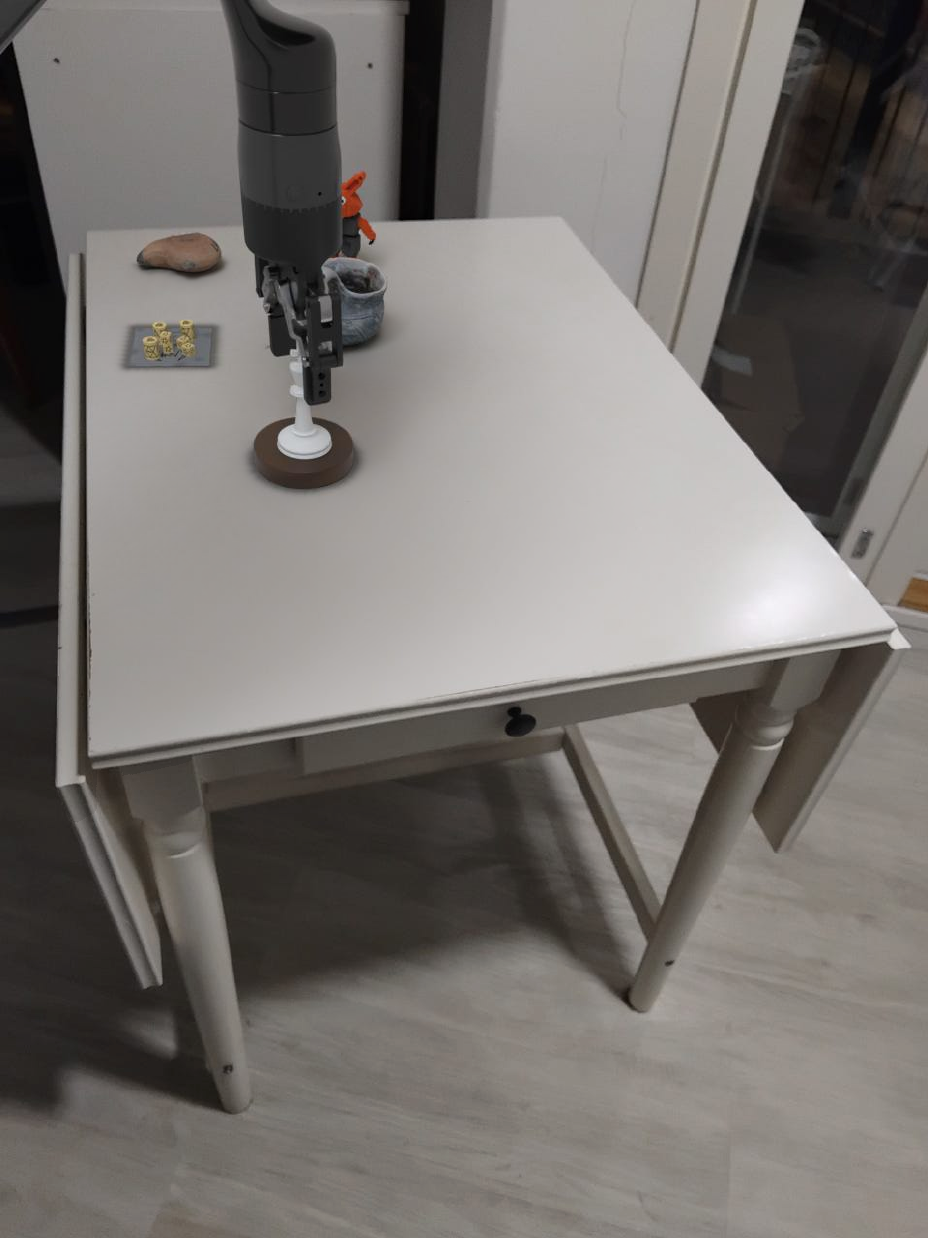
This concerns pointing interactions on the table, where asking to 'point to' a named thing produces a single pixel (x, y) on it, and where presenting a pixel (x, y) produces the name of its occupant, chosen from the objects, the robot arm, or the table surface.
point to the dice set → (171, 345)
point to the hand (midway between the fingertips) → (300, 377)
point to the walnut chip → (303, 470)
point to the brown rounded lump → (182, 252)
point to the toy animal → (353, 218)
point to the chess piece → (302, 423)
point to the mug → (357, 296)
